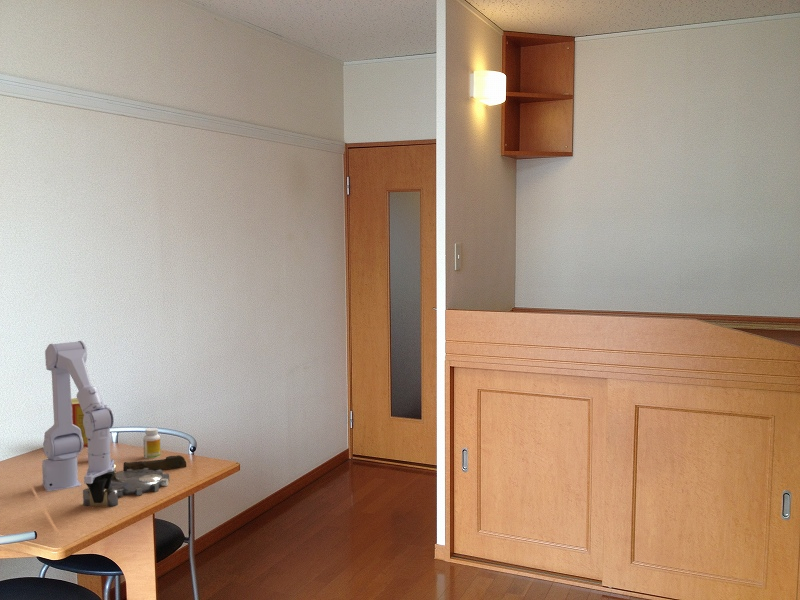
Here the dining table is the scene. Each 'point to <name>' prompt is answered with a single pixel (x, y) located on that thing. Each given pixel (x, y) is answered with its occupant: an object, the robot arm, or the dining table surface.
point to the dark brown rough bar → (157, 464)
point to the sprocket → (138, 481)
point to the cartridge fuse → (108, 498)
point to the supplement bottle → (152, 443)
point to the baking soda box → (78, 419)
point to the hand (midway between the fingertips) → (100, 500)
